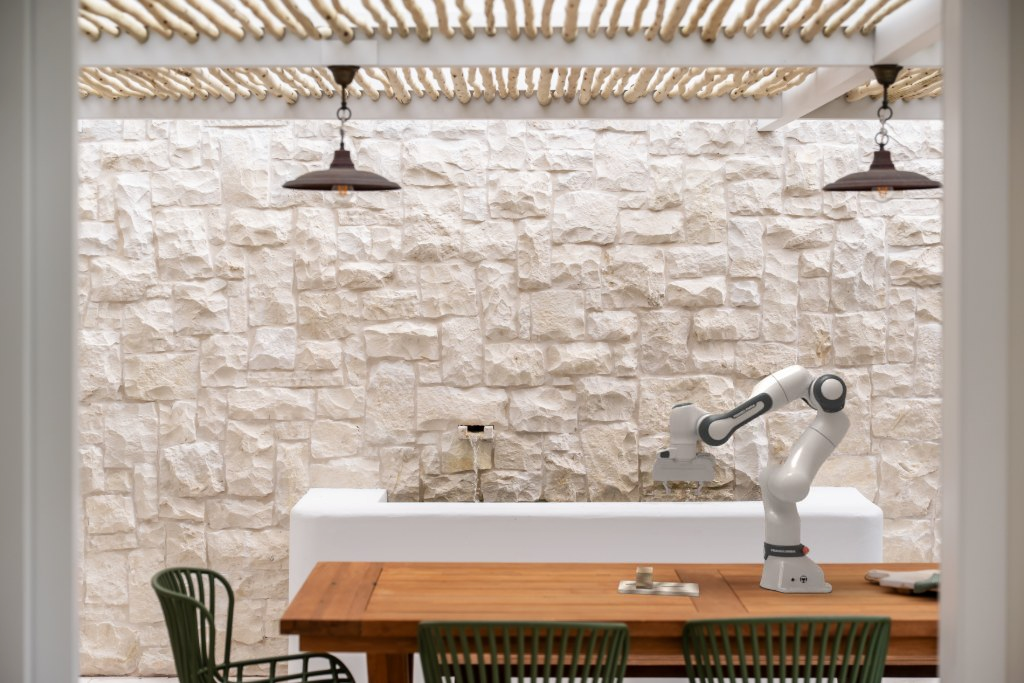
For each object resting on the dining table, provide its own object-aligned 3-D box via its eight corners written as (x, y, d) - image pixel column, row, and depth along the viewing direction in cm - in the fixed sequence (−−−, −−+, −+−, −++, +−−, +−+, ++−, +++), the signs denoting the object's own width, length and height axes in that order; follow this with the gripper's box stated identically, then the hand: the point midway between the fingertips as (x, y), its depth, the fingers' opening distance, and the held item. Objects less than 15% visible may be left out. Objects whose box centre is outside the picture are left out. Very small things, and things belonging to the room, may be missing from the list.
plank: (698, 587, 356) (698, 583, 356) (699, 596, 344) (699, 592, 344) (620, 584, 360) (620, 580, 360) (618, 593, 347) (618, 588, 347)
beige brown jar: (652, 582, 356) (653, 567, 356) (652, 589, 347) (652, 573, 347) (636, 582, 357) (637, 566, 357) (635, 588, 348) (636, 572, 348)
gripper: (714, 451, 366) (714, 493, 366) (652, 451, 368) (652, 492, 368) (715, 453, 359) (715, 496, 359) (651, 453, 362) (652, 495, 362)
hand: (683, 494), depth 364 cm, fingers open, 8 cm apart
